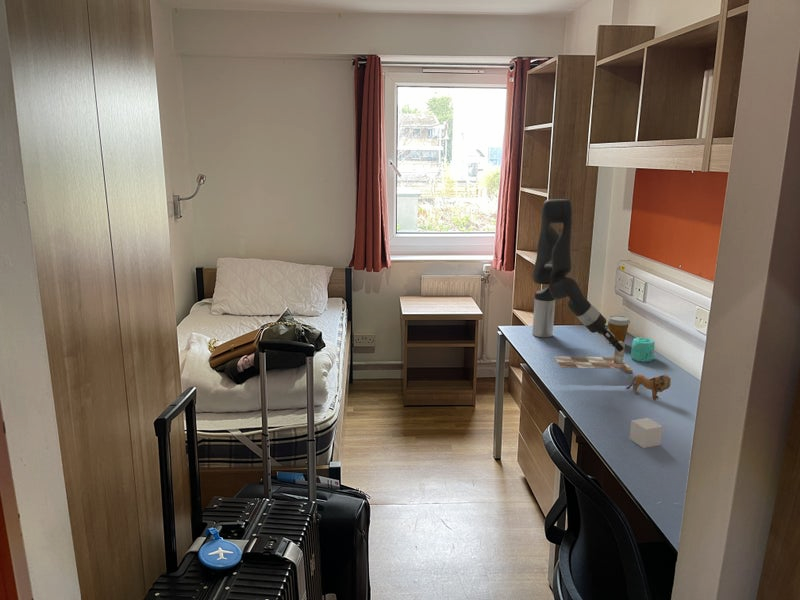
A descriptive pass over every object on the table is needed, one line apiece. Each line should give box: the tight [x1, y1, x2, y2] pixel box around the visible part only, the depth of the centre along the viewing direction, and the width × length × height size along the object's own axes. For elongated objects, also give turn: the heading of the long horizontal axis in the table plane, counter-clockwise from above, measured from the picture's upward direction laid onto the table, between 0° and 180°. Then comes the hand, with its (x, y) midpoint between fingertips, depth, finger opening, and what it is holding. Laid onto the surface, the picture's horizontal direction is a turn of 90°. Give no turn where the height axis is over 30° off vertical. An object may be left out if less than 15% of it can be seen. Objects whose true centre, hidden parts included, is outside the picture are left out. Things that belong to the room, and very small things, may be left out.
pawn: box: [611, 341, 626, 368], centre depth 229 cm, size 5×5×10 cm
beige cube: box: [629, 417, 663, 449], centre depth 172 cm, size 6×6×6 cm
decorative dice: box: [630, 337, 655, 363], centre depth 241 cm, size 8×8×8 cm
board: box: [553, 355, 633, 374], centre depth 233 cm, size 15×28×1 cm, turn 89°
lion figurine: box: [625, 374, 672, 401], centre depth 205 cm, size 15×5×9 cm, turn 48°
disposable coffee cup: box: [606, 314, 631, 345], centre depth 259 cm, size 10×10×12 cm
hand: (617, 346), depth 228 cm, fingers open, 8 cm apart
